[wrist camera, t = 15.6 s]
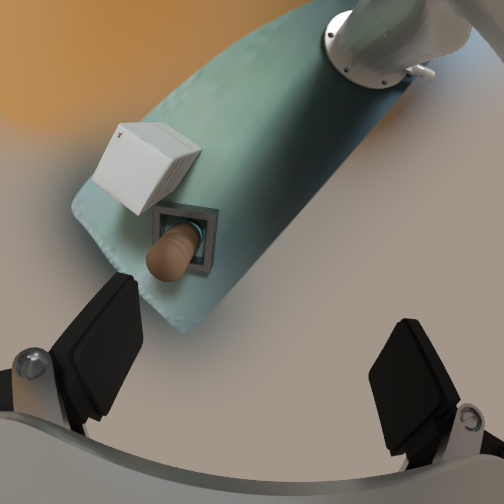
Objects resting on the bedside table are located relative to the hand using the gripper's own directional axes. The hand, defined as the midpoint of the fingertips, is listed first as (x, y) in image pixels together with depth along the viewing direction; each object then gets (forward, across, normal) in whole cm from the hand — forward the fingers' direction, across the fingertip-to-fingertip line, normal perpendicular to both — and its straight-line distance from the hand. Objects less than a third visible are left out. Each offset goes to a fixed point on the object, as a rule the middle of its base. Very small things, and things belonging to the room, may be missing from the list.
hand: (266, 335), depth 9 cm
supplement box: (+31, +14, -1) cm, 34 cm away
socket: (+30, +11, +10) cm, 34 cm away
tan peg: (+30, +11, +10) cm, 34 cm away
